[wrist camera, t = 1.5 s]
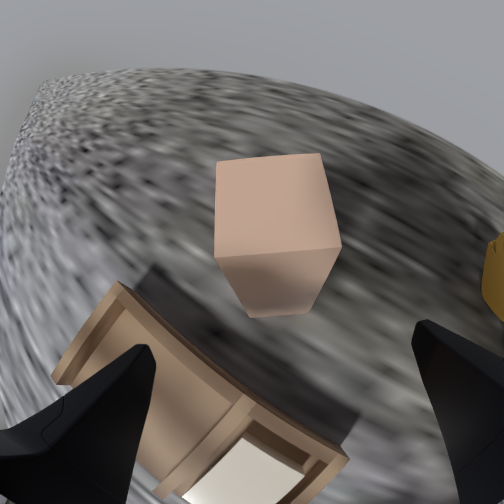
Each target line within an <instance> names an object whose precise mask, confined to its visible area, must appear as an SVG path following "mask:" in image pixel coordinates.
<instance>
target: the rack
mask: <svg viewBox="0 0 504 504" xmlns="http://www.w3.org/2000/svg"><path fill="white" fill-rule="evenodd" d="M136 344H147V345H149V347H150V349H151V351H152V354H153V356H154V358H155V361H156V373H155V378H154V384H153V390H152V396H151V402H150V406H149V410H148V414H147V418H146V421H145V425H144V429H143V432H142V436H141V440H140V444H139V448H138V452H137V456H136V460H137V461H138V462H139V463H140V464H141V465H142V466H143V467H144V468H145V469H147V470H148V471H149V472H150V473H151V474H152V475H153V476H155V477H156V478H157V479H158V480H160V481H161V483H160V484H159V485H158V486H157V487H156V488H155V489H154V490H153V491H152V492H153V493H155V494H156V495H157V496H158V497H160V498H161V499H162V500H163V499H164V498H165V497H166V496H168V495H169V494H170V493H171V492H172V491H173V492H175V493H176V494H177V495H179V496H180V497H182V496H183V495H184V494H185V492H186V491H187V490H188V489H189V488H190V487H191V486H192V485H193V484H194V483H195V482H196V481H197V480H198V479H199V478H200V477H201V476H203V475H204V474H205V473H206V472H207V471H208V470H209V469H210V468H211V467H212V466H213V465H214V464H215V463H216V462H217V461H218V460H219V459H220V458H221V457H222V456H223V455H224V454H225V453H226V452H227V451H228V449H229V448H230V447H231V446H232V445H233V444H234V443H235V442H236V441H237V440H238V439H239V438H240V437H241V436H242V434H243V433H244V432H245V431H247V432H249V433H250V434H252V435H253V436H255V437H256V438H258V439H259V440H261V441H262V442H264V443H265V444H267V445H268V446H270V447H271V448H273V449H275V450H276V451H278V452H280V453H281V454H283V455H285V456H286V457H288V458H290V459H291V460H293V461H295V462H297V463H299V464H300V465H302V466H303V469H304V474H305V476H304V477H303V478H302V479H301V480H300V481H299V482H298V483H297V484H296V485H295V486H294V487H293V488H292V489H291V490H290V491H289V492H288V493H287V494H286V495H285V496H284V497H283V498H282V499H280V500H279V501H278V502H277V503H276V504H308V503H309V502H310V501H311V500H312V499H313V498H314V497H315V496H316V495H317V494H318V493H319V492H320V491H321V490H322V489H323V488H324V487H325V486H326V485H327V484H328V483H329V482H330V481H331V480H332V479H333V478H334V477H335V476H336V475H337V474H338V473H339V471H340V470H341V469H342V468H343V467H344V466H345V465H346V463H347V462H348V461H349V460H350V458H349V457H348V456H347V455H346V453H345V452H344V451H343V449H342V448H341V447H340V446H338V445H336V444H335V443H333V442H331V441H329V440H328V439H326V438H324V437H322V436H321V435H319V434H317V433H315V432H314V431H312V430H310V429H309V428H307V427H305V426H304V425H302V424H301V423H299V422H297V421H296V420H294V419H293V418H291V417H289V416H288V415H286V414H285V413H283V412H282V411H280V410H279V409H277V408H276V407H274V406H273V405H271V404H270V403H268V402H267V401H265V400H264V399H263V398H261V397H260V396H258V395H257V394H255V393H254V392H253V391H251V390H250V389H249V388H247V387H246V386H244V385H243V384H242V383H240V382H239V381H238V380H236V379H235V378H234V377H232V376H231V375H230V374H228V373H227V372H226V371H225V370H223V369H222V368H221V367H219V366H218V365H217V364H216V363H214V362H213V361H212V360H211V359H209V358H208V357H207V356H206V355H205V354H203V353H202V352H201V351H200V350H199V349H197V348H196V347H195V346H194V345H193V344H191V343H190V342H189V341H188V340H187V339H186V338H185V337H183V336H182V335H181V334H180V333H179V332H178V331H177V330H175V329H174V328H173V327H172V326H171V325H170V324H169V323H168V322H167V321H166V320H164V319H163V318H162V317H161V316H160V315H159V314H158V313H157V312H156V311H155V310H154V309H153V308H152V307H151V306H150V305H149V304H147V303H146V302H145V301H144V300H143V299H142V298H141V297H140V296H139V295H138V294H137V293H136V292H135V291H133V290H132V289H130V288H128V287H127V286H125V285H124V284H122V283H120V282H119V281H116V282H115V283H114V285H113V286H112V287H111V288H110V290H109V291H108V292H107V294H106V295H105V296H104V298H103V299H102V300H101V302H100V303H99V304H98V306H97V307H96V308H95V310H94V311H93V313H92V314H91V315H90V317H89V318H88V320H87V321H86V322H85V324H84V325H83V327H82V328H81V330H80V331H79V332H78V334H77V335H76V337H75V338H74V340H73V341H72V343H71V344H70V346H69V347H68V349H67V350H66V352H65V353H64V355H63V357H62V358H61V360H60V361H59V363H58V364H57V366H56V368H55V369H54V371H53V373H52V374H51V377H52V379H53V381H54V382H55V384H56V385H71V386H72V388H73V389H74V388H75V387H77V386H78V385H79V384H81V383H82V382H84V381H85V380H87V379H88V378H89V377H91V376H92V375H94V374H95V373H96V372H98V371H99V370H101V369H102V368H103V367H105V366H106V365H108V364H109V363H110V362H112V361H113V360H115V359H116V358H117V357H119V356H120V355H122V354H123V353H124V352H126V351H127V350H129V349H130V348H131V347H133V346H134V345H136ZM182 498H183V497H182ZM183 499H184V498H183ZM184 500H185V499H184ZM186 501H187V500H186ZM187 502H188V501H187ZM189 503H190V502H189ZM190 504H191V503H190Z"/></svg>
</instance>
